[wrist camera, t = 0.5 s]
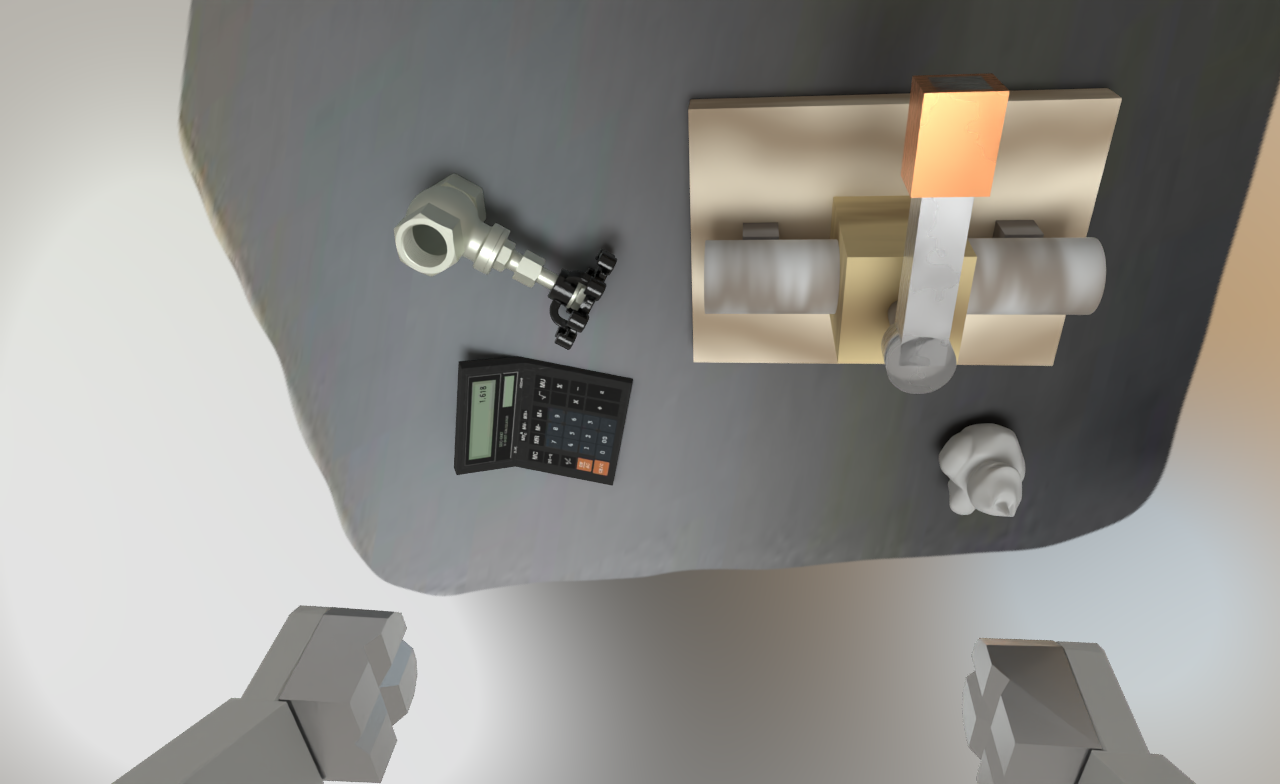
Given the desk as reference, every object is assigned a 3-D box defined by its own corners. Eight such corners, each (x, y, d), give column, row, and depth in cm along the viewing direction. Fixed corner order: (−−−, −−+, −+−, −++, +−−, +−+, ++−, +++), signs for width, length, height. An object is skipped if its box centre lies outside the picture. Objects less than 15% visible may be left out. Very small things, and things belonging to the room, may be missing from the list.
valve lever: (941, 367, 40) (952, 397, 38) (876, 366, 40) (884, 397, 38) (992, 73, 33) (1009, 91, 30) (912, 75, 33) (924, 93, 31)
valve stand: (690, 99, 47) (674, 178, 36) (1107, 87, 44) (1220, 169, 34) (695, 346, 56) (683, 467, 45) (1043, 348, 53) (1116, 477, 43)
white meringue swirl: (1035, 424, 56) (1073, 504, 50) (981, 492, 60) (1010, 575, 53) (962, 398, 56) (991, 475, 49) (912, 469, 59) (933, 549, 53)
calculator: (614, 478, 63) (608, 504, 61) (462, 448, 63) (451, 473, 61) (633, 376, 58) (628, 401, 55) (468, 344, 58) (455, 367, 55)
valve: (409, 228, 53) (577, 316, 55) (371, 274, 48) (559, 370, 50) (446, 139, 50) (624, 237, 52) (409, 177, 44) (609, 285, 46)
